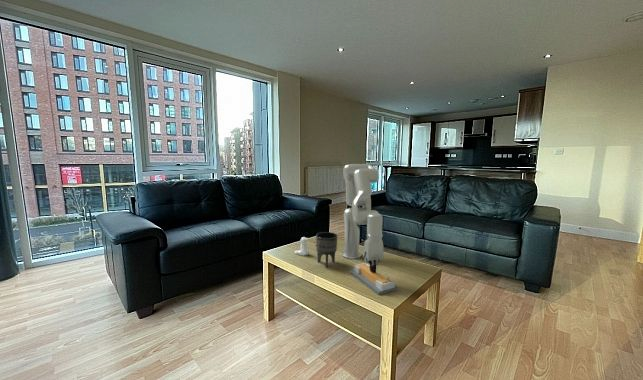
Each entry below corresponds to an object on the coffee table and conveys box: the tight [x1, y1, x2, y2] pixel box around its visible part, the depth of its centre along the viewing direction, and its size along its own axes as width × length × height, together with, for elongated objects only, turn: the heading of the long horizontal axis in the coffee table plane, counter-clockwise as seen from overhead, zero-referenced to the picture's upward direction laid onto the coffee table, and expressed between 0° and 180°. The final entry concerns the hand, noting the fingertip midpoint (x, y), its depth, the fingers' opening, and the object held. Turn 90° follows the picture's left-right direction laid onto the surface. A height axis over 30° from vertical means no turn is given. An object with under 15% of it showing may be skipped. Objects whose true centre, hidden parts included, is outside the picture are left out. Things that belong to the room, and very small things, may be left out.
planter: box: [315, 231, 338, 268], centre depth 155 cm, size 13×13×18 cm
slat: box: [357, 263, 389, 284], centre depth 133 cm, size 22×4×4 cm, turn 26°
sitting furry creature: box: [294, 236, 310, 257], centre depth 170 cm, size 10×9×12 cm
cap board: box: [349, 262, 399, 296], centre depth 134 cm, size 25×12×4 cm, turn 25°
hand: (372, 271), depth 134 cm, fingers closed
